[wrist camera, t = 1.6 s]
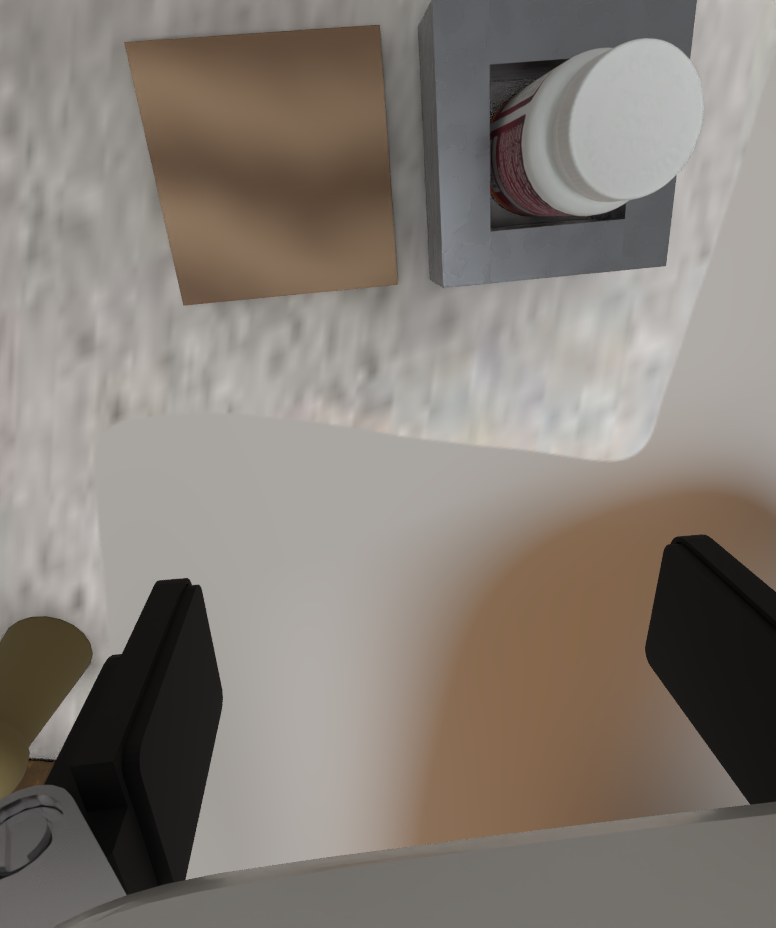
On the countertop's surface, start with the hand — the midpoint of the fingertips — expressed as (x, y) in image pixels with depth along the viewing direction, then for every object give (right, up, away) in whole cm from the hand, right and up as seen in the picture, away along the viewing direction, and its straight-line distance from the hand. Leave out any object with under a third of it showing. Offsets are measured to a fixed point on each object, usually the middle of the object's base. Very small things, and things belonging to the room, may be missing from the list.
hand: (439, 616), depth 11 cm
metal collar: (+7, +20, +19) cm, 29 cm away
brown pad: (-7, +18, +19) cm, 27 cm away
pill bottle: (+7, +20, +20) cm, 29 cm away
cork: (-26, -10, +29) cm, 40 cm away
